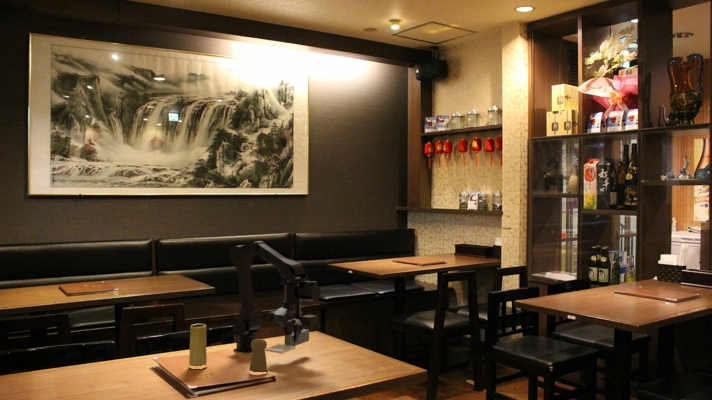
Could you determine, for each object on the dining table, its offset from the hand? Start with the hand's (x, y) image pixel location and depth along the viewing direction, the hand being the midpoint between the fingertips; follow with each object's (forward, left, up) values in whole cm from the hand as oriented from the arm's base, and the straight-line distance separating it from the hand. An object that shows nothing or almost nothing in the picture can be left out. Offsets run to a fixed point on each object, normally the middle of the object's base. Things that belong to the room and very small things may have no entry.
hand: (292, 342), depth 213 cm
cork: (0, -19, -6) cm, 20 cm away
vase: (-21, -25, -6) cm, 33 cm away
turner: (0, 0, -1) cm, 1 cm away
